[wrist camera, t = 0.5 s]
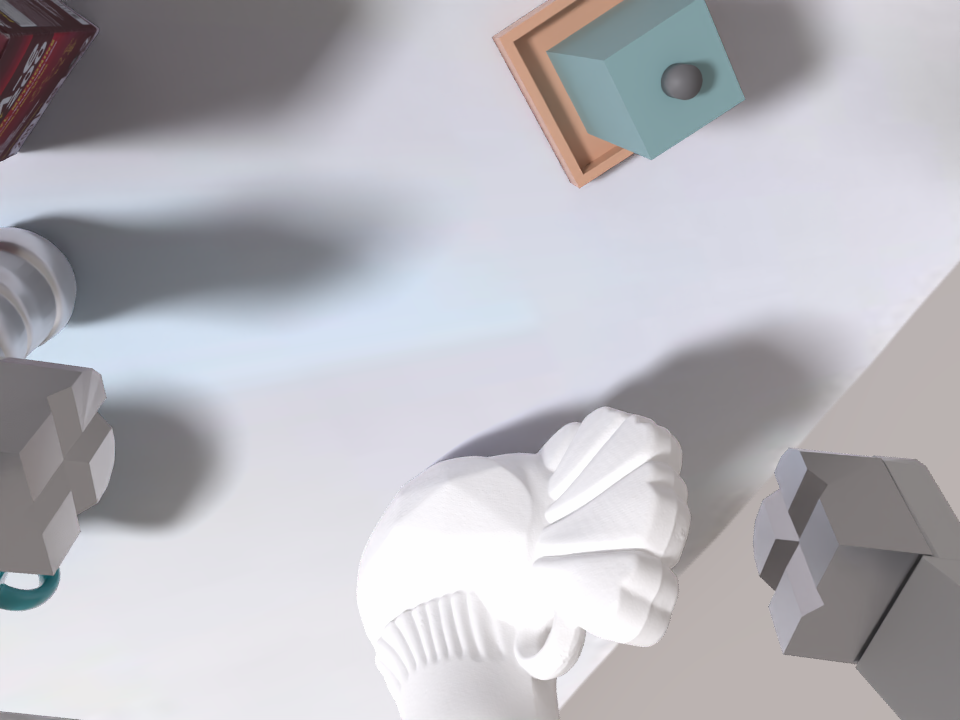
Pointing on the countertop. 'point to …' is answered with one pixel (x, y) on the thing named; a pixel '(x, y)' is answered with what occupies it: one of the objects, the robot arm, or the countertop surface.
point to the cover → (647, 74)
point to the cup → (27, 593)
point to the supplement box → (35, 62)
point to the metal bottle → (32, 291)
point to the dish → (557, 84)
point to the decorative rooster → (523, 567)
